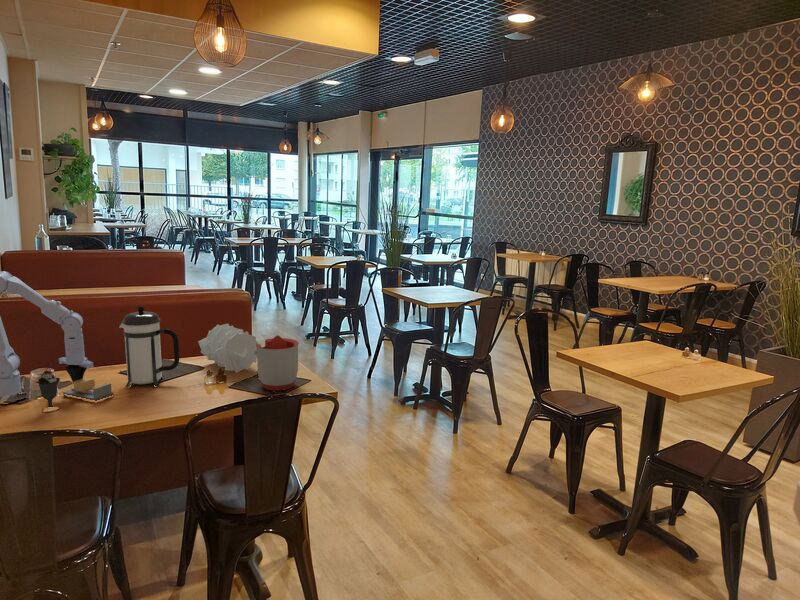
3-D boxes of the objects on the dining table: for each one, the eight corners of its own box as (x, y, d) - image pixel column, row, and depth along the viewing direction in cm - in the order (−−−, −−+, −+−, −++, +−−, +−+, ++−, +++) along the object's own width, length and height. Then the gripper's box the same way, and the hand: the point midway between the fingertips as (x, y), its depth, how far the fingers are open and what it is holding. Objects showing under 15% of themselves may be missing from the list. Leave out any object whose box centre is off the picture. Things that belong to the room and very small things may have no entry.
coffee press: (137, 393, 202) (132, 312, 196) (116, 384, 211) (110, 306, 206) (181, 382, 215) (178, 305, 210) (159, 373, 225) (155, 300, 219)
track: (63, 396, 197) (62, 382, 196) (81, 390, 204) (80, 377, 203) (96, 403, 191) (95, 389, 191) (113, 396, 198) (112, 383, 197)
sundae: (57, 404, 189) (53, 361, 187) (65, 409, 185) (61, 366, 183) (35, 409, 184) (31, 366, 182) (43, 415, 180) (39, 370, 178)
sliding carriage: (74, 392, 196) (73, 381, 196) (87, 388, 201) (86, 377, 200) (82, 394, 195) (81, 383, 194) (95, 389, 199) (94, 378, 199)
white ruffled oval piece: (227, 367, 248) (254, 379, 229) (190, 357, 236) (215, 368, 217) (242, 328, 250) (270, 336, 232) (206, 316, 239) (232, 323, 220)
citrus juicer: (267, 377, 223) (266, 328, 220) (306, 382, 218) (306, 332, 214) (244, 389, 209) (243, 337, 205) (285, 395, 203) (284, 342, 199)
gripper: (99, 347, 197) (102, 384, 200) (70, 343, 203) (73, 379, 205) (81, 352, 191) (84, 390, 193) (52, 347, 196) (55, 384, 199)
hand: (77, 385), depth 199 cm, fingers closed
